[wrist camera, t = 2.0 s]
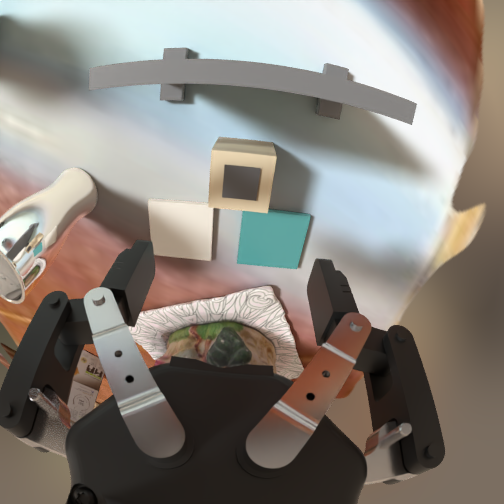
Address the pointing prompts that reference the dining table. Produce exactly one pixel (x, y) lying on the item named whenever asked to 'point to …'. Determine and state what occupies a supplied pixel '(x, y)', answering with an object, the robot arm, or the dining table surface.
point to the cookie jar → (222, 332)
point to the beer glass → (41, 231)
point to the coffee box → (84, 386)
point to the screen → (253, 82)
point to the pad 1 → (181, 228)
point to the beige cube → (241, 174)
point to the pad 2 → (272, 238)
